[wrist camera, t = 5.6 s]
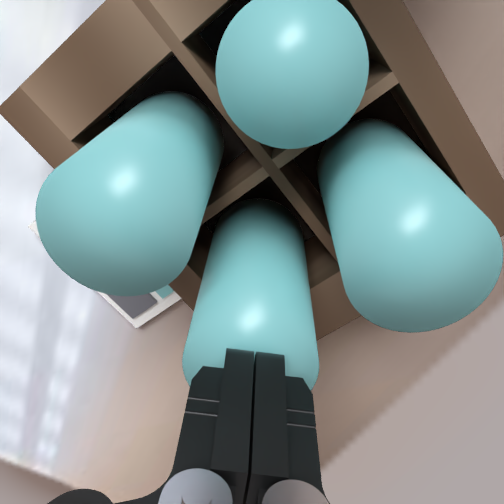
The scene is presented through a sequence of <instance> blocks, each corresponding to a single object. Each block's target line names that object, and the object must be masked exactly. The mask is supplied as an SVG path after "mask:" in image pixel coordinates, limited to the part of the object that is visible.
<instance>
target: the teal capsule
mask: <svg viewBox="0 0 504 504" xmlns="http://www.w3.org/2000/svg"><path fill="white" fill-rule="evenodd" d="M368 72H369V59H368V50H367V46H366V42H365V39H364V36H363V33H362V31H361V29H360V27H359V25H358V23H357V21H356V20H355V19H354V17H353V16H352V14H351V13H350V12H349V11H348V10H347V9H346V8H345V7H344V6H343V5H342V4H341V3H339V2H338V1H337V0H252V1H251V2H249V3H248V4H247V5H245V6H244V7H243V8H242V9H241V10H240V11H239V12H238V13H237V14H236V15H235V17H234V18H233V19H232V21H231V22H230V24H229V25H228V27H227V29H226V30H225V32H224V35H223V37H222V39H221V42H220V45H219V49H218V52H217V59H216V83H217V88H218V93H219V96H220V99H221V102H222V104H223V106H224V108H225V110H226V112H227V114H228V115H229V117H230V118H231V119H232V121H233V122H234V123H235V124H236V125H237V127H238V128H239V129H241V130H242V131H243V132H244V133H245V134H246V135H248V136H249V137H251V138H252V139H254V140H256V141H258V142H260V143H262V144H265V145H268V146H271V147H276V148H282V149H298V148H304V147H308V146H311V145H315V144H317V143H320V142H322V141H324V140H326V139H327V138H329V137H331V136H332V135H334V134H335V133H336V132H337V131H339V130H340V129H341V128H342V127H343V126H344V125H345V124H346V123H347V122H348V121H349V120H350V118H351V117H352V116H353V114H354V113H355V111H356V109H357V108H358V106H359V104H360V102H361V100H362V97H363V95H364V92H365V88H366V85H367V80H368Z"/></svg>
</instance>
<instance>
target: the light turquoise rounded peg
mask: <svg viewBox="0 0 504 504" xmlns="http://www.w3.org/2000/svg"><path fill="white" fill-rule="evenodd" d="M226 348H231V349H240V350H248V351H254V360H255V354H256V351H257V352H265V353H273V354H281V355H284V356H285V376H291V377H300V378H303V379H304V381H305V382H306V384H307V386H308V387H309V389H310V391H311V390H312V388H313V386H314V385H315V383H316V380H317V377H318V372H319V358H318V350H317V342H316V334H315V326H314V319H313V311H312V303H311V295H310V287H309V279H308V271H307V263H306V255H305V247H304V239H303V232H302V228H301V225H300V223H299V221H298V220H297V218H296V217H295V215H294V214H293V213H292V212H291V211H290V210H289V209H288V208H286V207H285V206H283V205H282V204H280V203H277V202H275V201H272V200H268V199H259V198H257V199H248V200H244V201H241V202H238V203H236V204H234V205H233V206H231V207H230V208H228V209H227V210H226V211H225V212H224V213H223V214H222V215H221V217H220V218H219V220H218V222H217V224H216V227H215V230H214V234H213V238H212V242H211V246H210V250H209V254H208V258H207V262H206V266H205V269H204V273H203V277H202V281H201V285H200V289H199V293H198V297H197V301H196V305H195V309H194V313H193V317H192V321H191V325H190V329H189V333H188V337H187V340H186V344H185V348H184V352H183V359H182V365H183V371H184V375H185V378H186V380H187V382H188V384H189V386H190V385H191V381H192V378H193V377H194V376H195V375H196V374H197V373H198V371H199V370H200V369H201V368H202V367H203V366H209V367H217V368H224V362H225V355H226Z"/></svg>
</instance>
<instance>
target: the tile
mask: <svg viewBox="0 0 504 504" xmlns="http://www.w3.org/2000/svg"><path fill="white" fill-rule="evenodd" d="M28 227H29V228H30V229H31V230H32V231H33V232H34V233H35V234H36V235H37V236H38V237H39V238H40V236H39V233H38V229H37V224H36V220H35V221H34V222H33V223H31V224H30V225H29V226H28ZM97 292H98V291H97ZM98 293H99V294H100V295H101V296H102V297H103V298H104V299H106V300H107V301H108V302H109V303H110V304H111V305H112V306H113V307H114V308H115V309H116V310H117V311H118V312H119V313H120V314H122V315H123V316H124V317H125V318H126V319H127V320H128V321H129V322H130V323H131V324H132V325H133V326H134V327H135V328H136V329H137V328H138V327H140V326H141V325H143V324H144V323H146V322H147V321H149V320H150V319H152V318H153V317H155V316H156V315H158V314H159V313H161V312H162V311H164V310H165V309H167V308H168V307H170V306H171V305H173V304H174V303H176V302H177V301H179V300H180V299H182V298H181V297H180V296H179V295H178V294H177V293H176V292H175V291H174V290H173V289H172V288H171V287H170V286H169V285H166V286H165V287H163V288H161V289H159V290H157V291H154V292H151V293H148V294H144V295H138V296H115V295H109V294H105V293H101V292H98Z"/></svg>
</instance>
